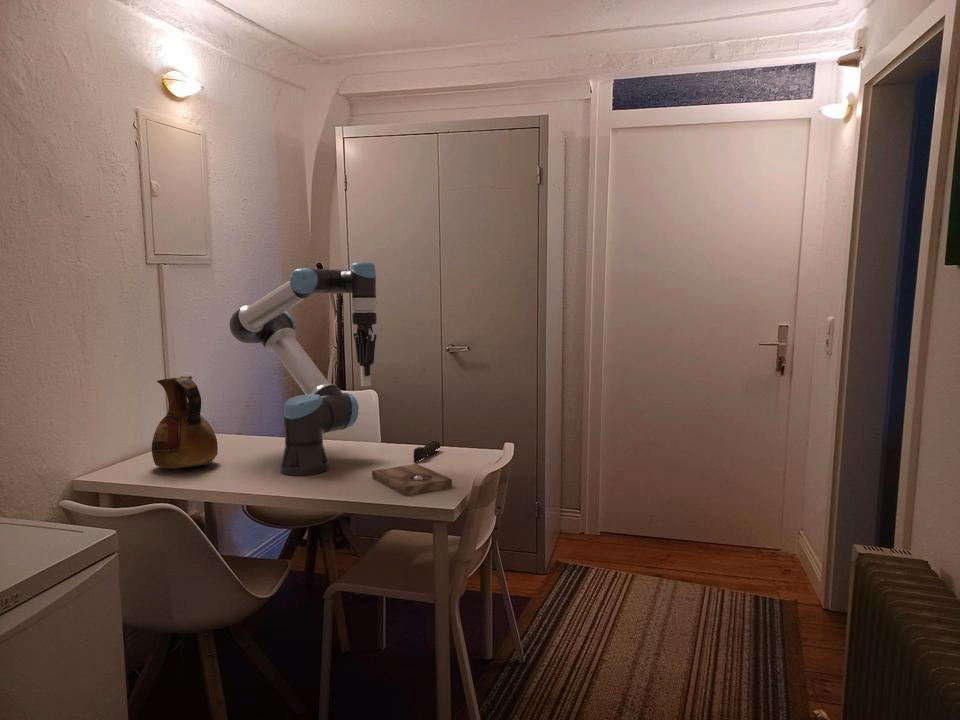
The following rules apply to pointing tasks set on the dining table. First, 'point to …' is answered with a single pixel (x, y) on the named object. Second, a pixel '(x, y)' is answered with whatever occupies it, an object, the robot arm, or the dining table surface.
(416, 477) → the steel ball
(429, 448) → the hand tool
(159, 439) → the ceramic pitcher
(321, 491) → the dining table surface
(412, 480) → the walnut plate
